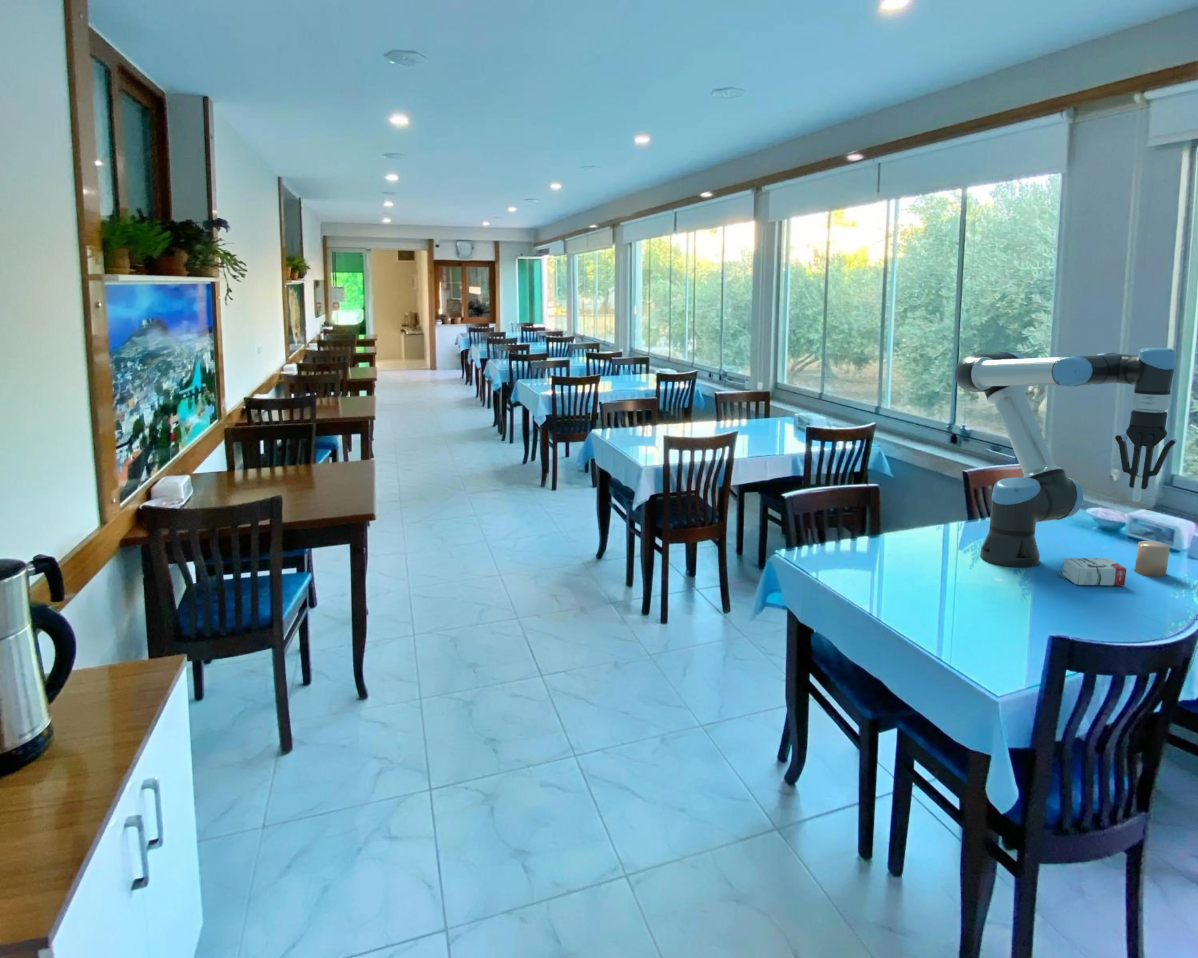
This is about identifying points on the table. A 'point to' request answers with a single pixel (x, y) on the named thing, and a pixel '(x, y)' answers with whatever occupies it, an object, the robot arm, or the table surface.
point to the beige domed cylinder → (1152, 558)
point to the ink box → (1094, 571)
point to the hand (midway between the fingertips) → (1136, 500)
